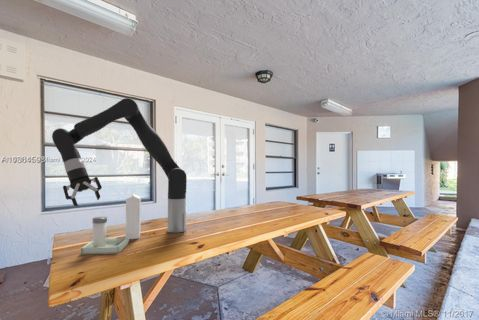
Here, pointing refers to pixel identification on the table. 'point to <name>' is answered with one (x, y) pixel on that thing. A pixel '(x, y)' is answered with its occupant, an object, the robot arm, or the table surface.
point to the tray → (109, 249)
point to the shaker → (99, 231)
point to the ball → (118, 240)
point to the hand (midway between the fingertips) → (88, 202)
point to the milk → (133, 216)
